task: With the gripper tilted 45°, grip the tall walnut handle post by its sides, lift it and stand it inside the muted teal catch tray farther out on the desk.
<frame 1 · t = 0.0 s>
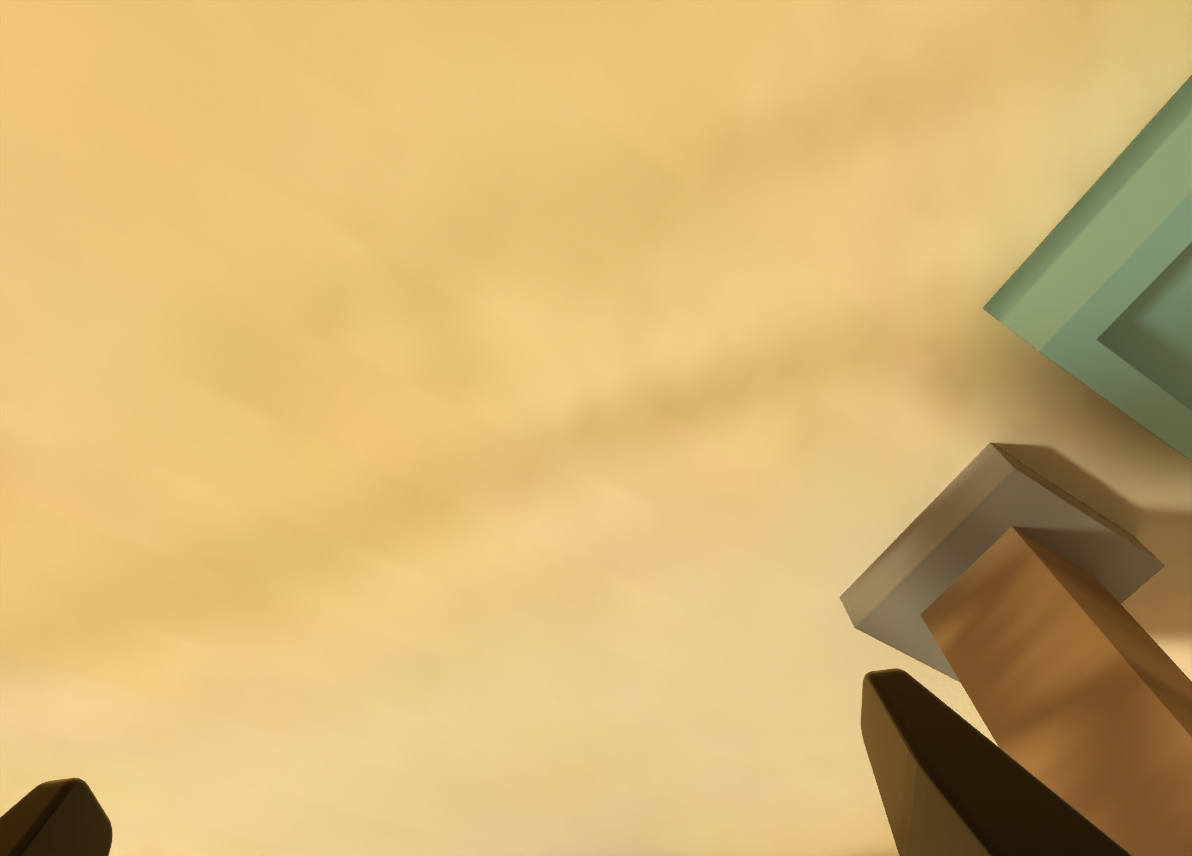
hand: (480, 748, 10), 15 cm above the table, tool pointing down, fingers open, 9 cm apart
handle post: (986, 567, 28), on the table
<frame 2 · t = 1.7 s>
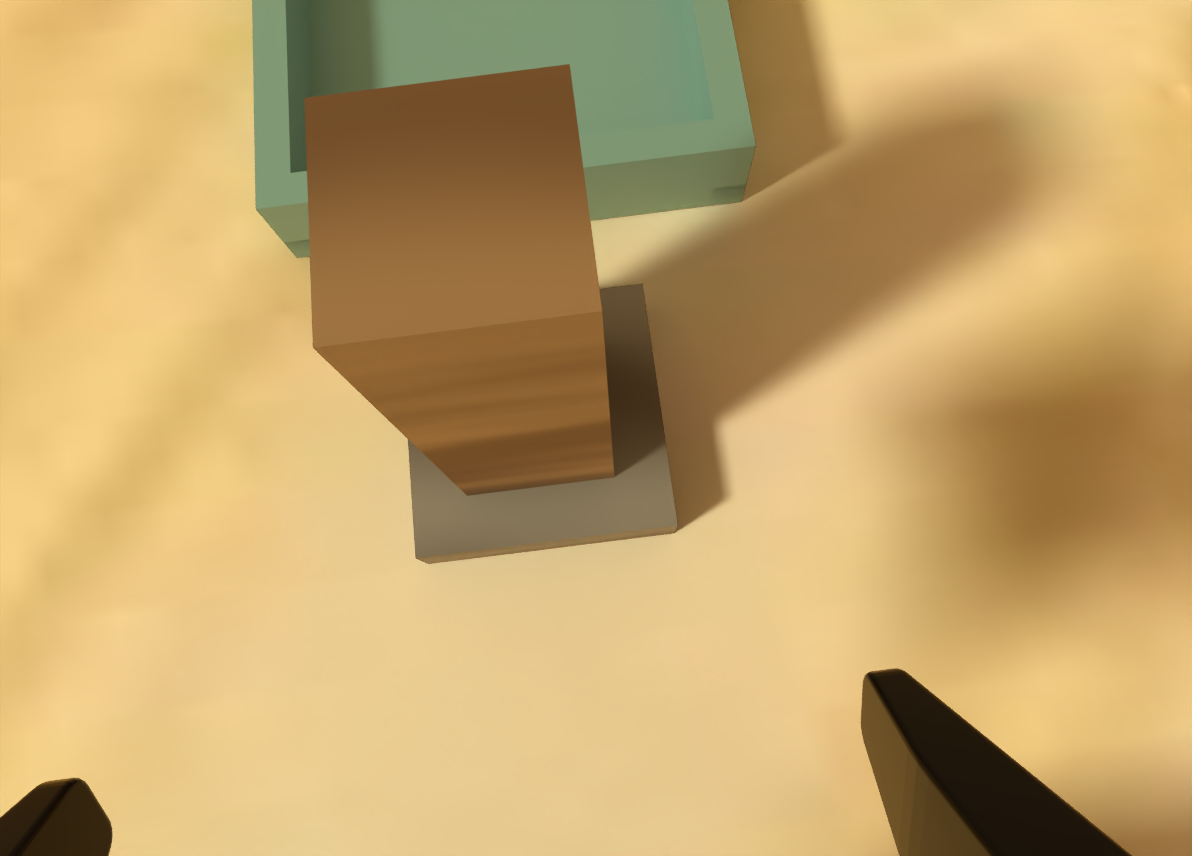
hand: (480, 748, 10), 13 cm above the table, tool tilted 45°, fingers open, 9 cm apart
handle post: (538, 429, 25), on the table
catch tray: (498, 41, 28), on the table
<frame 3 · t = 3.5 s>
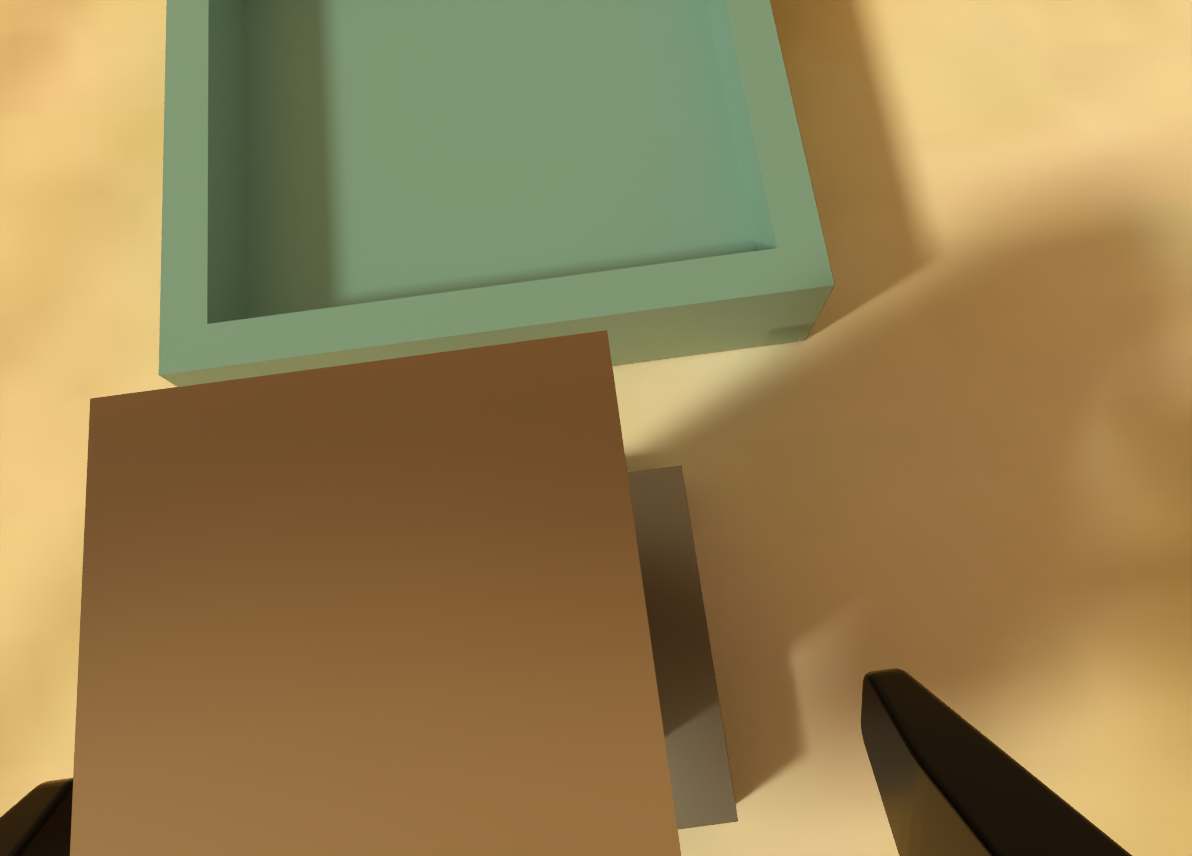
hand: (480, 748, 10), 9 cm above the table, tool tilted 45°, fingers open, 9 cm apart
handle post: (543, 657, 18), on the table
catch tray: (489, 129, 22), on the table
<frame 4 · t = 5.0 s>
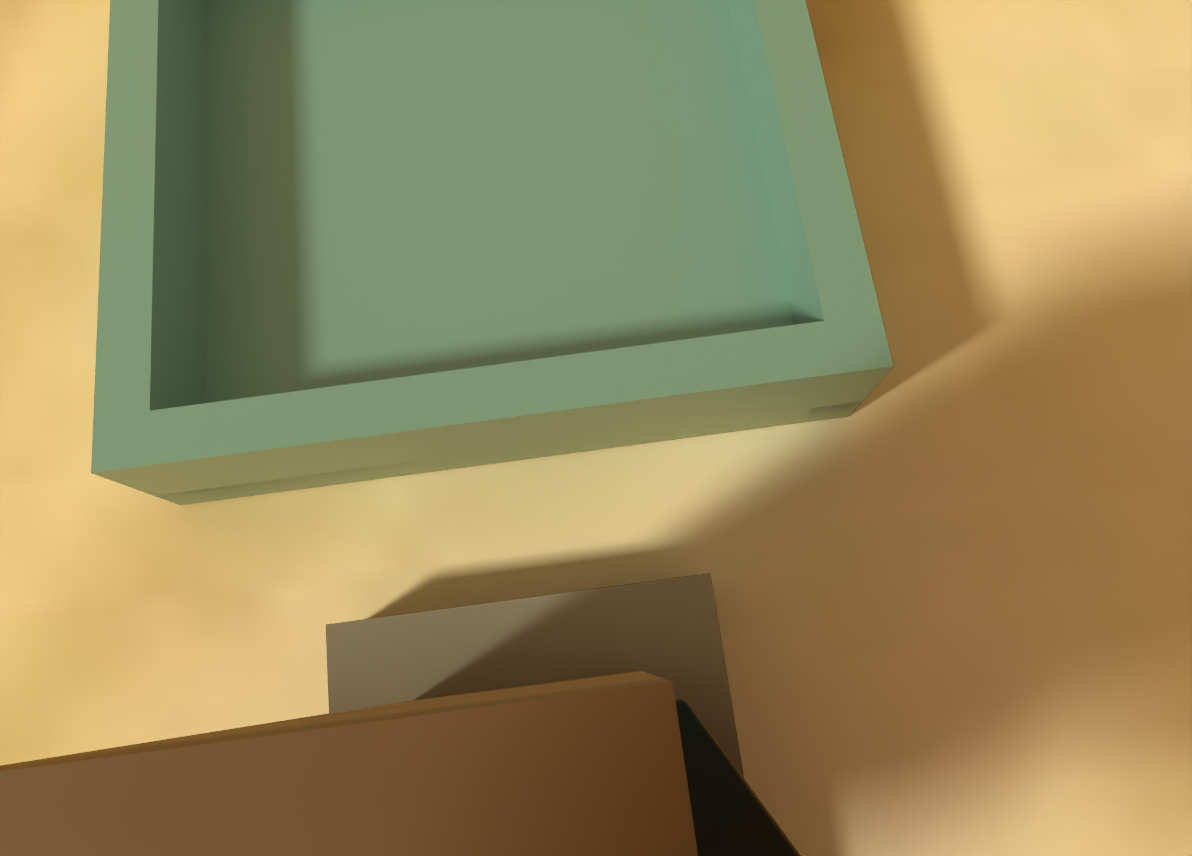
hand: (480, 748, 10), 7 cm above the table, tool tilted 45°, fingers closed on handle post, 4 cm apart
handle post: (547, 794, 16), on the table, touching gripper
catch tray: (484, 167, 19), on the table
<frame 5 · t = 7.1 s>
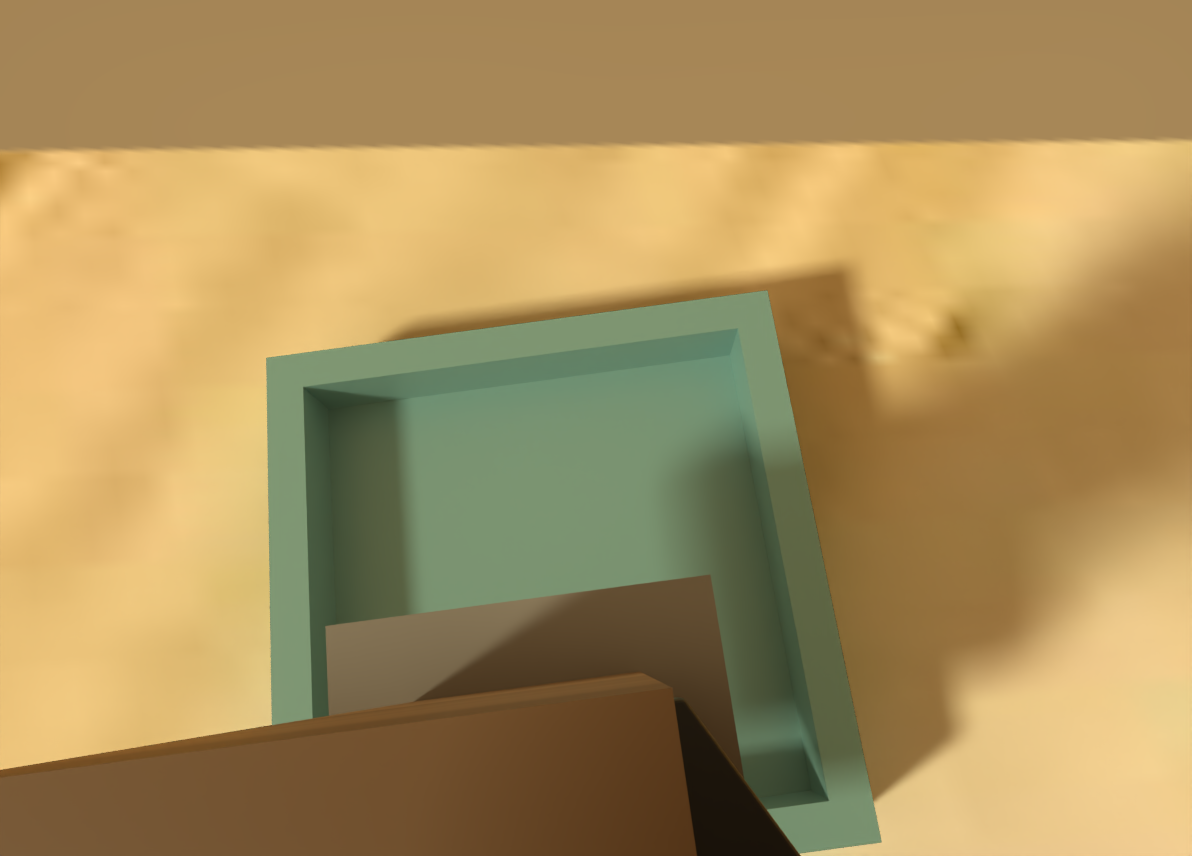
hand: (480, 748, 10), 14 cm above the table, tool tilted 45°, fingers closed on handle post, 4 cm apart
handle post: (547, 796, 16), point 7 cm above the table, touching gripper
catch tray: (554, 589, 24), on the table
when the fingers open (8 cm above the table, at t = 9.5 s): handle post stays where it is, resting on catch tray.
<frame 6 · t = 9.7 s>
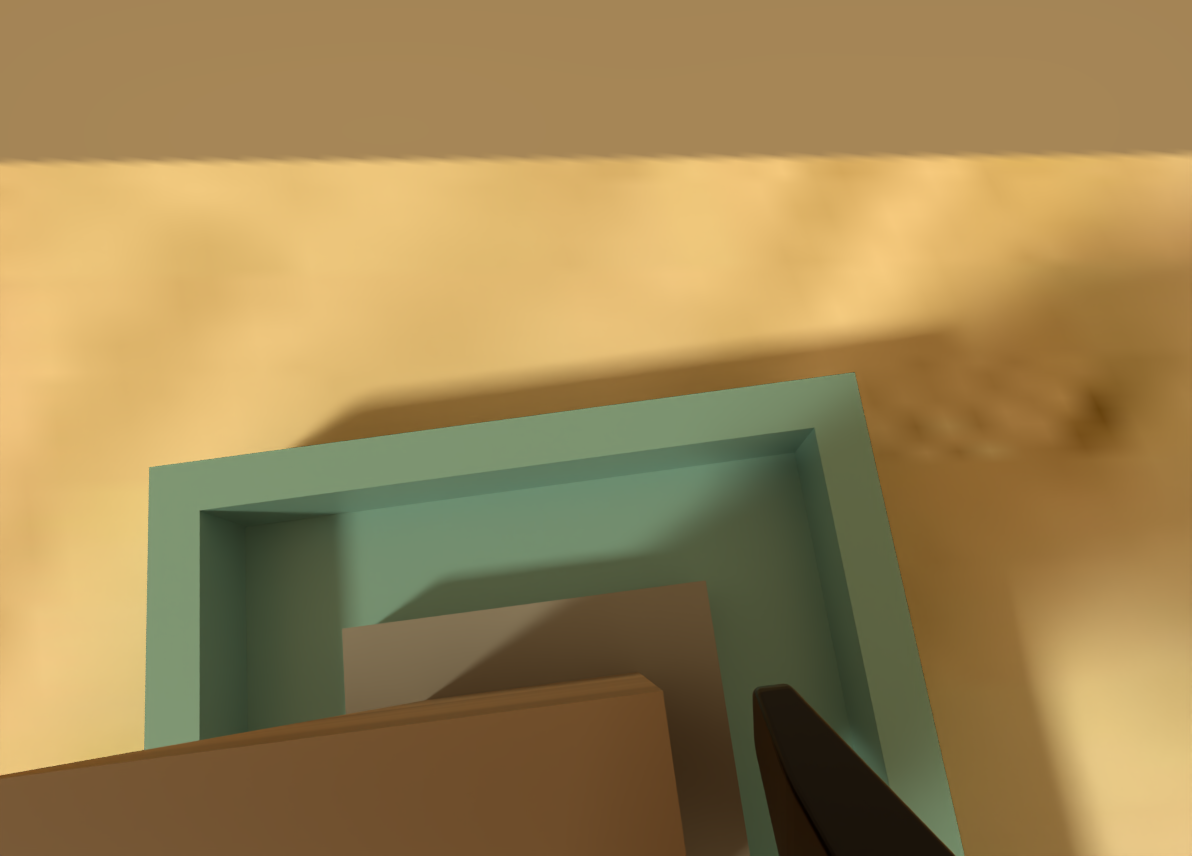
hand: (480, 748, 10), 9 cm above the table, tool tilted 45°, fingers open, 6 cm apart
handle post: (551, 789, 17), point 1 cm above the table, touching catch tray
catch tray: (555, 779, 17), on the table
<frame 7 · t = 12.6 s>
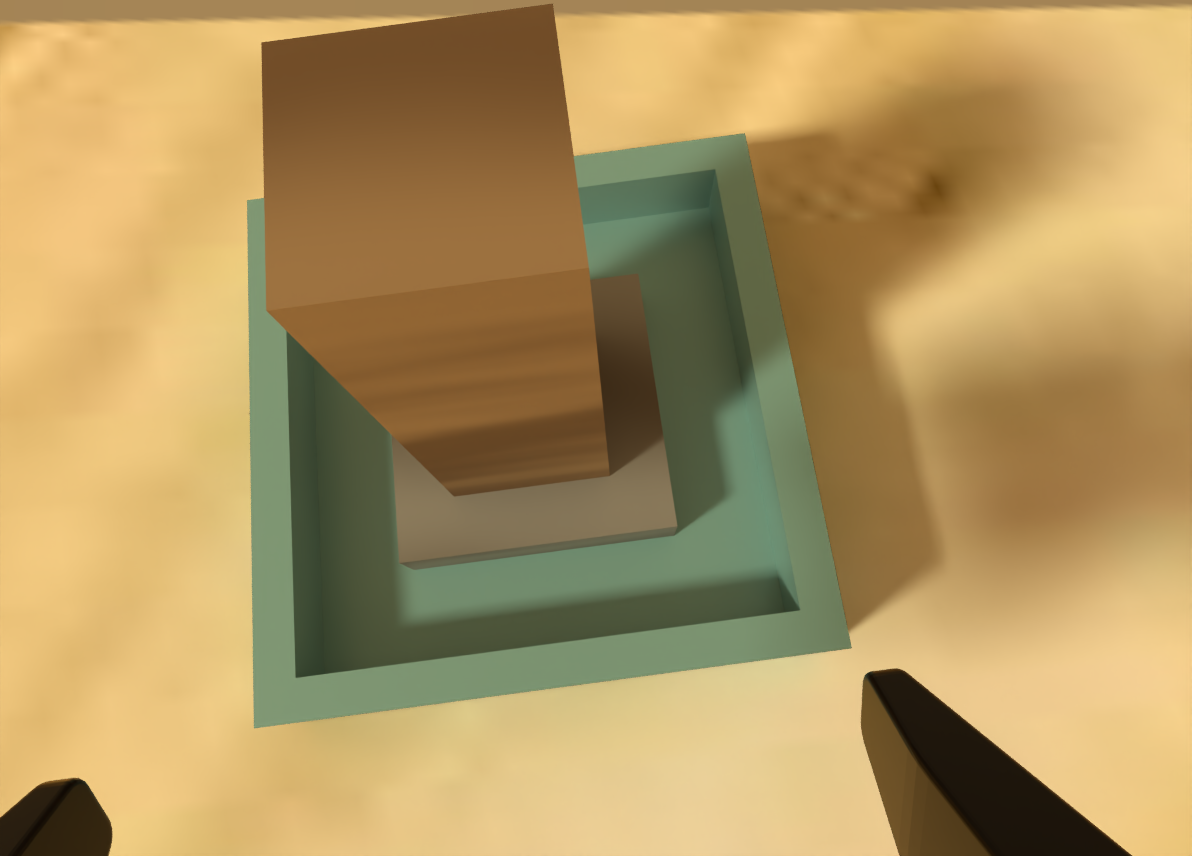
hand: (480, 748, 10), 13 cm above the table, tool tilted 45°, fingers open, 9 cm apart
handle post: (530, 427, 23), point 1 cm above the table, touching catch tray
catch tray: (534, 435, 24), on the table
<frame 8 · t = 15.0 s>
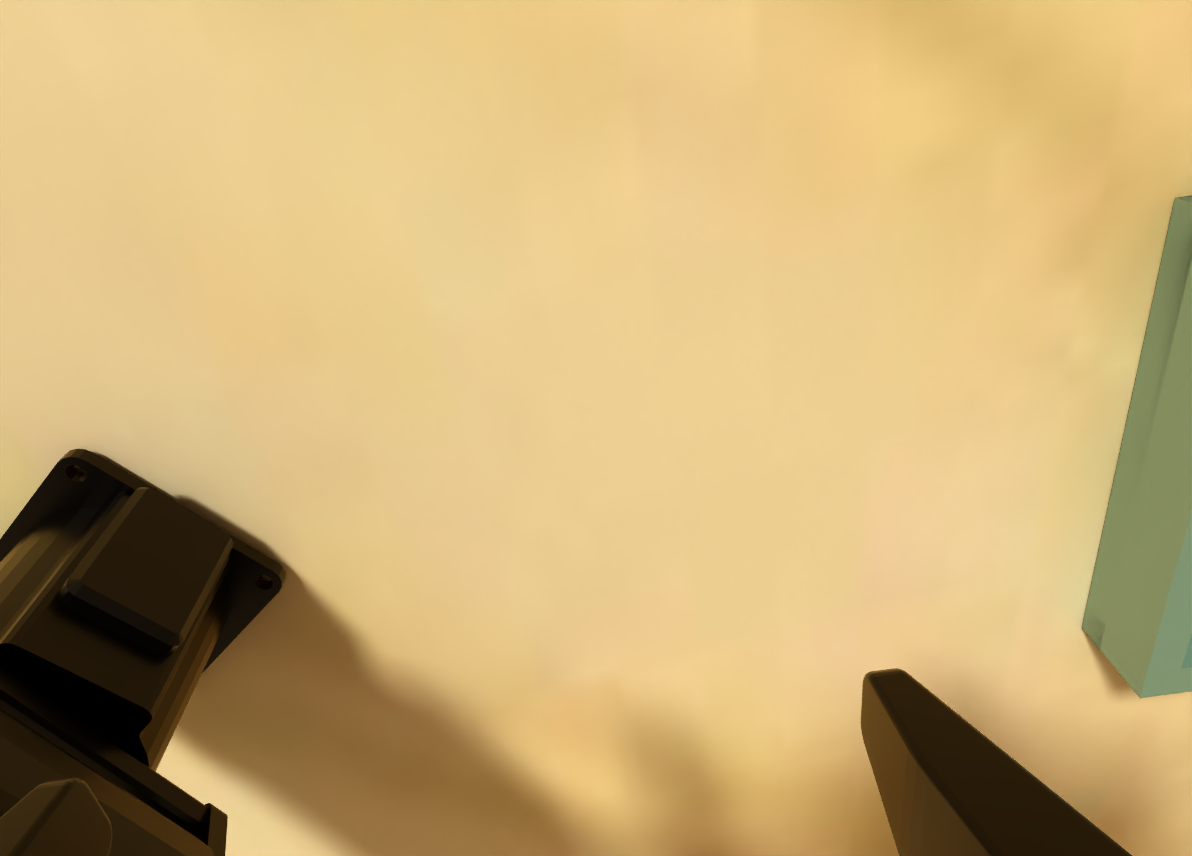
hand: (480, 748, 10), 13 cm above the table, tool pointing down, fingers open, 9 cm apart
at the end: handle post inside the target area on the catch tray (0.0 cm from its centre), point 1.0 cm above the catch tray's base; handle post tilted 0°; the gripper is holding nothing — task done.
